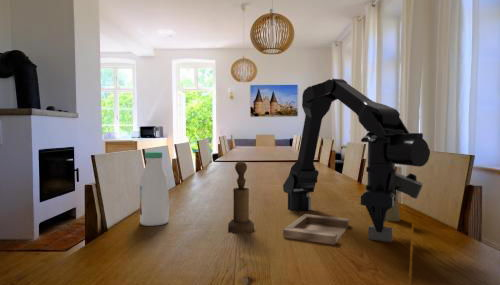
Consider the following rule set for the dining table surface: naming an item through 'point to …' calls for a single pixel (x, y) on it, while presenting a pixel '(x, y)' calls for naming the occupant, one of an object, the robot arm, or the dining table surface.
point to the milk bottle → (153, 191)
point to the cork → (393, 210)
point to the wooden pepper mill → (241, 204)
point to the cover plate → (380, 234)
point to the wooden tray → (317, 229)
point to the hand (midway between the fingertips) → (380, 230)
